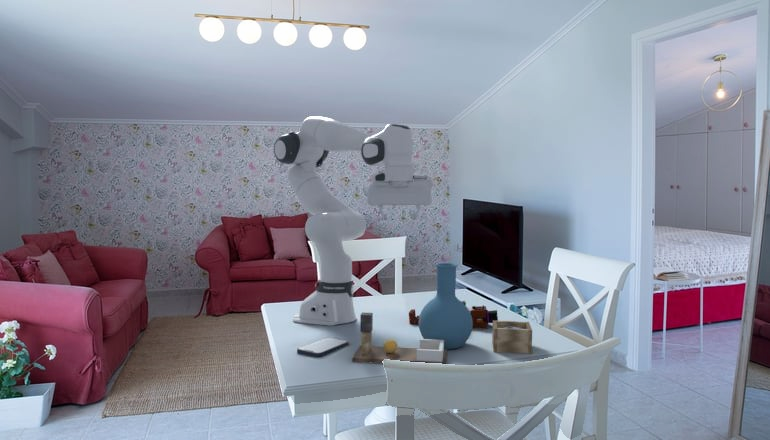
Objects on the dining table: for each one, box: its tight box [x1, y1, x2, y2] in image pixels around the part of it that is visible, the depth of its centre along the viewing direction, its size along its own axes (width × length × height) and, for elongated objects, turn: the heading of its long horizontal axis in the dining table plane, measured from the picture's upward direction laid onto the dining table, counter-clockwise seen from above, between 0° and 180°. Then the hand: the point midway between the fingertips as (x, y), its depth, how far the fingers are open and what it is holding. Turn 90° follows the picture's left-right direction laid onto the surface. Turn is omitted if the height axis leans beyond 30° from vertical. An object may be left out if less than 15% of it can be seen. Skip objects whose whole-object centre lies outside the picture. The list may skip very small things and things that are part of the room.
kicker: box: [359, 312, 374, 355], centre depth 168 cm, size 3×6×11 cm, turn 172°
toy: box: [408, 300, 499, 330], centre depth 204 cm, size 26×7×30 cm
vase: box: [418, 262, 473, 350], centre depth 179 cm, size 16×16×25 cm
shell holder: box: [491, 320, 533, 355], centre depth 177 cm, size 11×10×7 cm
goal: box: [417, 338, 445, 362], centre depth 165 cm, size 7×11×3 cm, turn 172°
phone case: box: [296, 337, 349, 358], centre depth 175 cm, size 9×2×16 cm
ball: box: [383, 338, 399, 353], centre depth 167 cm, size 4×4×4 cm
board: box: [351, 344, 448, 365], centre depth 167 cm, size 26×12×1 cm, turn 82°
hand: (399, 219), depth 184 cm, fingers open, 8 cm apart
